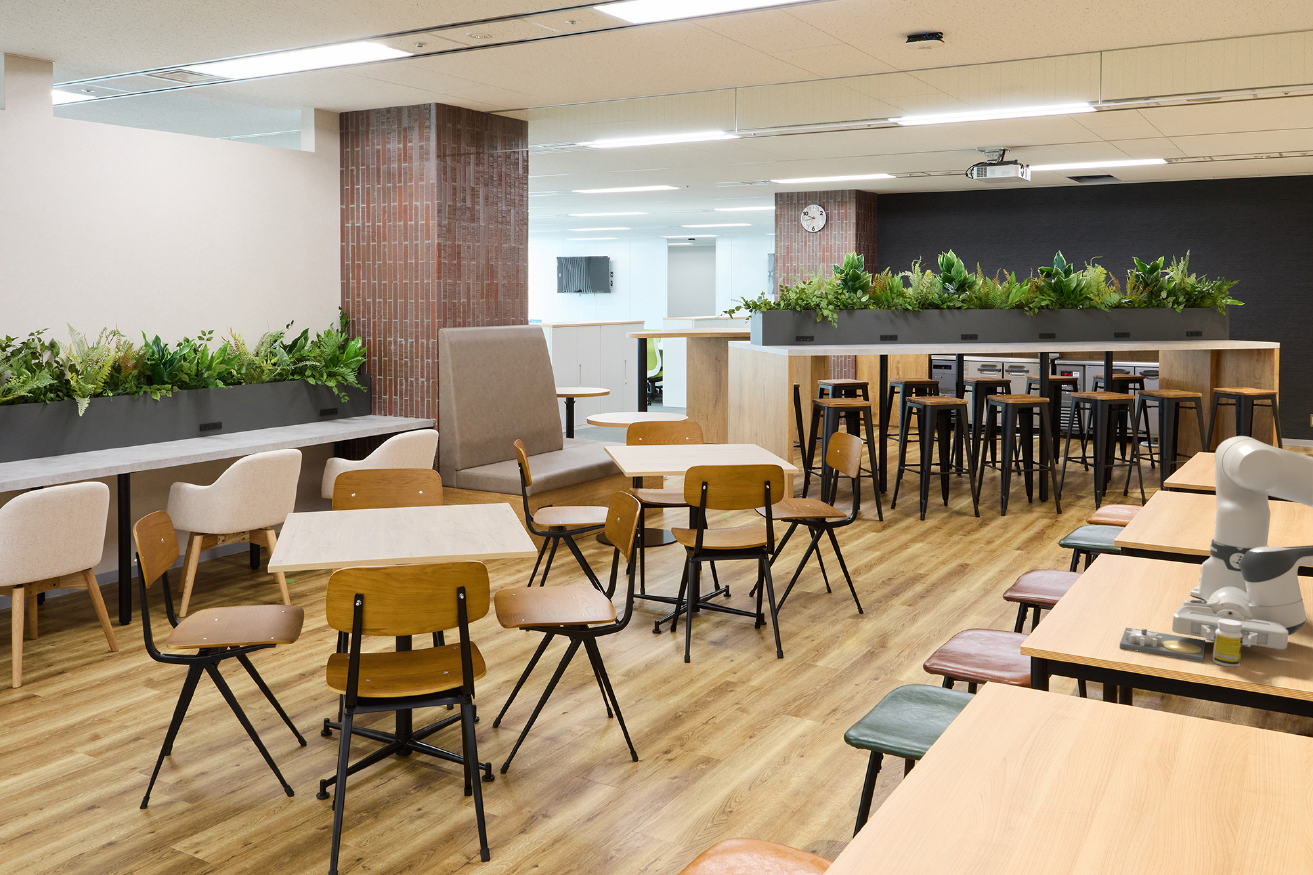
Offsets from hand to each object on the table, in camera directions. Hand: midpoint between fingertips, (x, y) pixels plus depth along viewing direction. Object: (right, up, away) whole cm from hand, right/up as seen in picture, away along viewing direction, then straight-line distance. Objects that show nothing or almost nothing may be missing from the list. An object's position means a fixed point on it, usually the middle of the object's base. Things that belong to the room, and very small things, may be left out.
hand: (1228, 639), depth 199 cm
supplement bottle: (0, -5, +1) cm, 5 cm away
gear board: (-8, -4, +11) cm, 13 cm away
